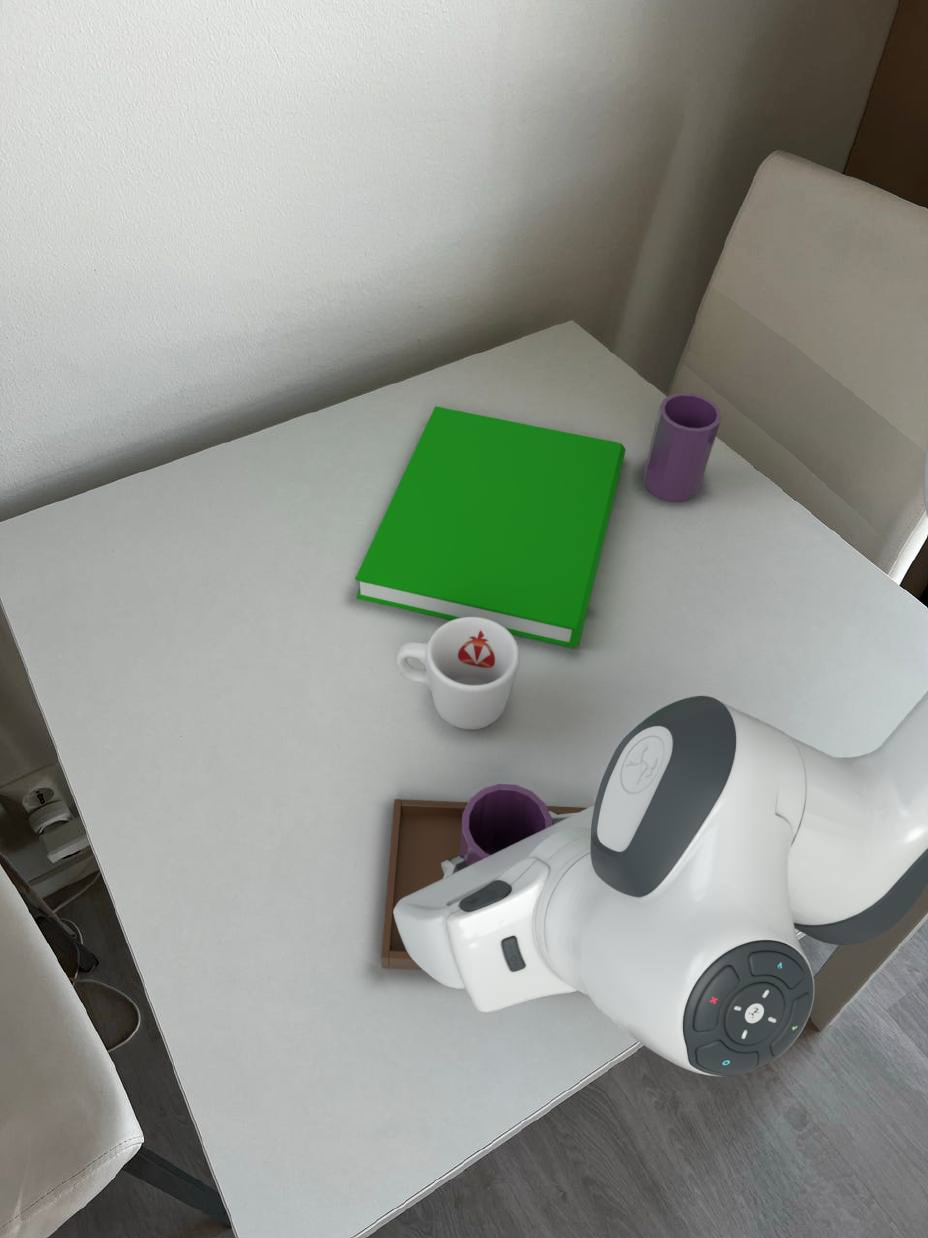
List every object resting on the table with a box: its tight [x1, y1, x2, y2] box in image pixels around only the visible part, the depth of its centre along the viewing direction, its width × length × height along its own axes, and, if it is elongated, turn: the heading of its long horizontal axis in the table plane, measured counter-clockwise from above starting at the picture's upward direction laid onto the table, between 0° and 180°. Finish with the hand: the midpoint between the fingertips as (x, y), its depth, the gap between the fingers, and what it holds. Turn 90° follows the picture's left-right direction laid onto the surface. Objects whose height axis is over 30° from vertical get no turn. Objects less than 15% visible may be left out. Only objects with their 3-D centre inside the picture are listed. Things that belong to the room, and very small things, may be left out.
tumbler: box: [642, 392, 722, 503], centre depth 104 cm, size 6×6×10 cm
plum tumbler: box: [459, 783, 552, 866], centre depth 71 cm, size 6×6×10 cm
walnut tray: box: [380, 798, 588, 971], centre depth 75 cm, size 17×13×2 cm
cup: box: [395, 617, 521, 731], centre depth 84 cm, size 11×8×8 cm
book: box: [354, 405, 626, 649], centre depth 101 cm, size 22×28×3 cm
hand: (497, 846), depth 71 cm, fingers closed on plum tumbler, 6 cm apart
